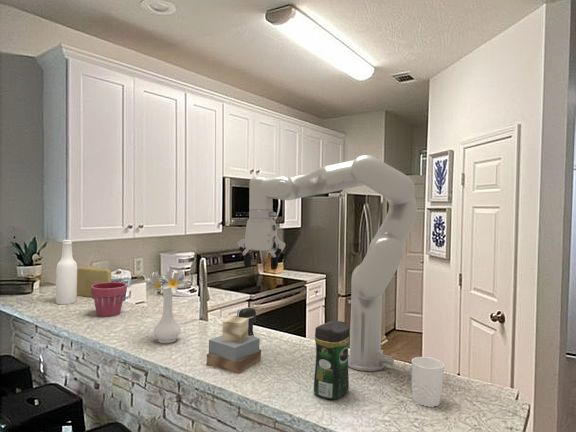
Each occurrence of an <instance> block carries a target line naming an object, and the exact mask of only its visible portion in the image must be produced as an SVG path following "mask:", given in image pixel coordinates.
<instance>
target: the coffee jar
mask: <svg viewBox="0 0 576 432" xmlns="http://www.w3.org/2000/svg"><path fill="white" fill-rule="evenodd" d="M314 333H315V335H314V341H315V365H314V367H315V368H314V377H313V392H314V394H315V395H316V396H318V397H320V398H322V399H324V400H325V399H326V400H327V399H328V400H337V399H340V398H341V397H343V396H344V395H345V394H346V393H347V392H348V391H349V389H350V387H349V386H350V385H349V384H350V383H349V381H350V380H349V379H350V378H349V366H348V355H349V346H350V326H349V325H348V324H347V322H345V321H340V320H337V319H333V320H330V321H328V322H325V323H323V324H320V325H318V326H316V327H315V332H314Z"/></svg>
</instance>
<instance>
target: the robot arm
mask: <svg viewBox="0 0 576 432" xmlns="http://www.w3.org/2000/svg"><path fill="white" fill-rule="evenodd" d="M363 186H366V187H368V188H370V189H371V190H372V191H374V192H375V193H377V194H379V195H380V196H382V197H384V198H385V200H386V201H387V203H388V211H387V213H386V215H385V217H384V219H383V221H382V224H381V225H380V227H379V229H378V230H377V232H376V233H375V235H374V237H373V238H372V239H371V241H370V243H369V245H368V250H367V253H366V255H365V256H364V257H363V260H362V262H361V263H360V264H358V265H357V266H356V267H355V268H354V269H353V271H352V272H351V273H352V274H351V281H350V282H351V286H350V287H351V291H350V292H351V293H350V295H351V298H350V299H351V300H350V301H351V302H350V326H349V333H350V338H349V354H348V368H350V369H353V370H357V371H361V372H376V371H381V370H384V369H385V367H386V365H391V366H394V364H395V358H393V356H392V355H386V354H384V350H383V349H381V347H382V346H381V345H382V316H383V294H384V292H385V290H386V288H387V287H388V285H389V284H390V282H391V281H392V278H393V277H394V276H395V273H396V272H397V271H398V268H399V266H400V264H401V262H402V260H403V257H404V247H403V246H404V244H405V242H406V240H407V238H408V236H409V234H410V232H411V230H412V228H413V227H414V224H415V222H416V218H417V214H418V205H417V199H416V197H415V191H416V188H415V184H414V181H413V179H411V177H409V176H408V175H407V174H405V173H403V172H401V171H400V170H398V169H396V168H394V167H393V166H391V165H389V164H387V163H386V162H384V161H382V160H381V159H378V158H377V157H375V156H374V155H370V154H362V155H359V156H358V157H356V158H355V159H351V160H347V161H343V162H338V163H332V164H328V165H327V164H326V165H324V166H322V167H319V168H318V169H316V170H314V171H312V172H308V173H306V174H302V175H301V174H300V175H295V176H292V177H289V176H286V175H285V176H284V175H280V176H275V177H274V176H273V177H267V176H264V177H263V176H254V177H252V178H250V180H249V191H248V193H249V206H248V208H249V212H248V213H249V214H248V215H249V217H248V218H249V219H247V222H246V226H245V227H246V228H245V236H244V237H243V238H242V239H240V240H237V242H236V243H237V246H238V248H239V251H240V252H241V253H242V256H243V265H244V268H245V269H246V268H251V267H252V254H251V252H252V251H262V252H269V253H270V255H271V257H270V270H272V271H273V270H277V269H278V267H279V266H278V265H279V257H280V255H281V254H282V253H283V252H284V249H285V247H286V245H287V244H286V243H285V242H283V241H282V240H280V238H279V237H278V228H277V224H276V223H277V222H276V219H274V217H276V216H277V212H275V211H274V210H273V208H274V207H273V205H274V203H273V199H274V200H280V201H293V200H297V199H301V198H307V197H310V196H312V197H313V196H316V195H322V194H329V193H333V192H334V193H335V192H338V191H343V190H347V189H352V188H359V187H363ZM244 245H245V246H244Z"/></svg>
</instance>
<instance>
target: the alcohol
mask: <svg viewBox="0 0 576 432" xmlns="http://www.w3.org/2000/svg"><path fill="white" fill-rule="evenodd" d="M77 268H78V264H77V262H76V260H75V259H74V258H73V240H72V239H63V240H62V249H61V258H60V260H59V261H58V262H57V264H56V267H55V272H56V273H55V303H56V304H57V305H60V306H66V305H73V304H75V303H76V302H77V301H78V295H77Z"/></svg>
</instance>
